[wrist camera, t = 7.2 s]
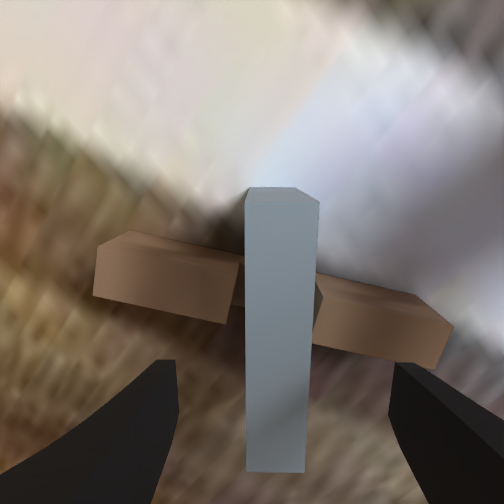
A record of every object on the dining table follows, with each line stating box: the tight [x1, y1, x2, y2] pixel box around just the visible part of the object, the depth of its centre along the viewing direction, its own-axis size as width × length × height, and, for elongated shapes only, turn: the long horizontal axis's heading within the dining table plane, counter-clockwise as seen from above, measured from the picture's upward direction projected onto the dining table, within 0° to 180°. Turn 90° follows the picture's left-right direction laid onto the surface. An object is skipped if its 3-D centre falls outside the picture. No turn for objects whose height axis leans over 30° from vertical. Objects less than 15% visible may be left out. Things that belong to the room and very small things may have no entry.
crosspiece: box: [245, 187, 319, 473], centre depth 16 cm, size 12×3×8 cm, turn 0°
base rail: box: [93, 230, 454, 370], centre depth 18 cm, size 18×3×4 cm, turn 77°
